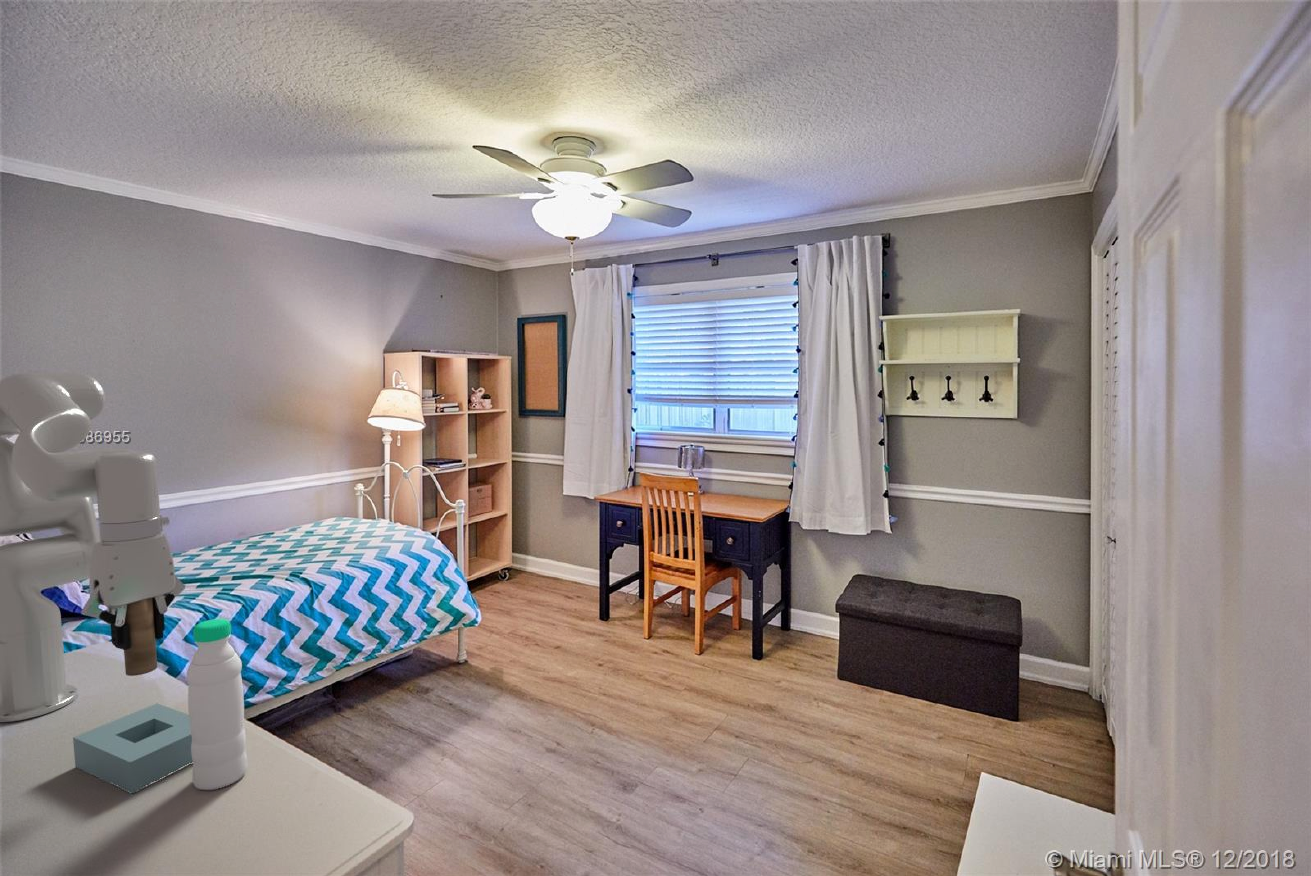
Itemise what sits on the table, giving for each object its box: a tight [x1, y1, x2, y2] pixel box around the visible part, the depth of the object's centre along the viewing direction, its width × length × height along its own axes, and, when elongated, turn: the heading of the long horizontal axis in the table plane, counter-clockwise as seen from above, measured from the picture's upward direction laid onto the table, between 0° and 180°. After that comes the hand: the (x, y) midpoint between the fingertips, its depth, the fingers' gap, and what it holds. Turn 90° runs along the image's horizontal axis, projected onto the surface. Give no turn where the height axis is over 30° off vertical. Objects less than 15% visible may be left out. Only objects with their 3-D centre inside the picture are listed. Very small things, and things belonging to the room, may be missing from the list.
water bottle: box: [186, 618, 248, 791], centre depth 99 cm, size 7×7×25 cm
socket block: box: [72, 703, 193, 794], centre depth 105 cm, size 16×12×5 cm
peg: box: [123, 598, 158, 677], centre depth 103 cm, size 4×4×14 cm
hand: (139, 641), depth 103 cm, fingers closed on peg, 4 cm apart
